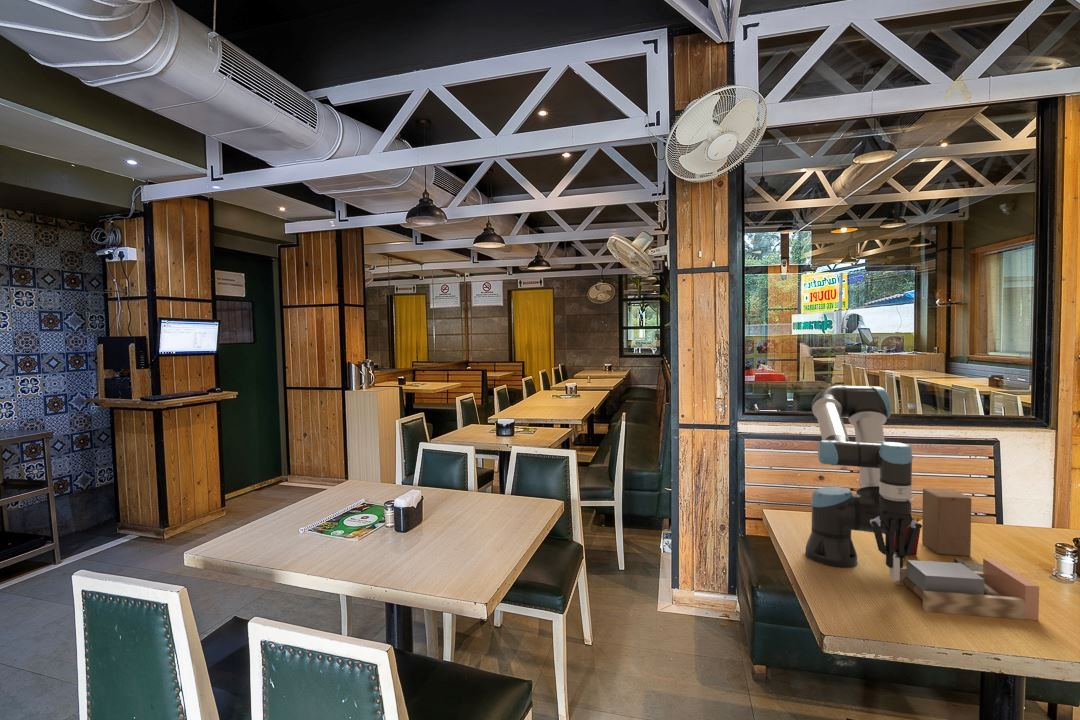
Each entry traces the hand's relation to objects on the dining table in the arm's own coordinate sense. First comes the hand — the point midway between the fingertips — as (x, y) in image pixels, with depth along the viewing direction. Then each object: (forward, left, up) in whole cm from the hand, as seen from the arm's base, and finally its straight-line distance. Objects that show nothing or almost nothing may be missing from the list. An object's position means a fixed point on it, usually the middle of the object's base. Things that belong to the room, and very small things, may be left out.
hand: (894, 578), depth 145 cm
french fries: (+17, +33, -5) cm, 37 cm away
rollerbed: (+16, 0, -5) cm, 16 cm away
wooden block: (+33, +37, -5) cm, 50 cm away
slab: (+13, 0, -1) cm, 13 cm away
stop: (+29, 0, -5) cm, 29 cm away
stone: (+32, +17, -6) cm, 37 cm away
